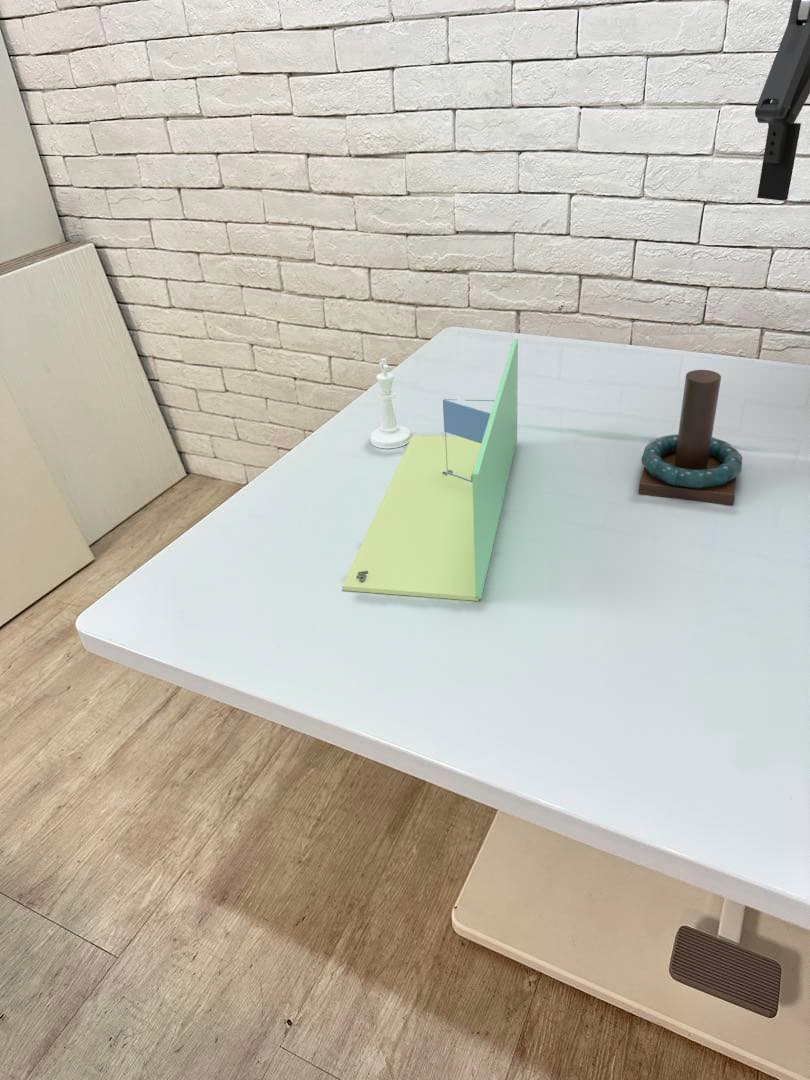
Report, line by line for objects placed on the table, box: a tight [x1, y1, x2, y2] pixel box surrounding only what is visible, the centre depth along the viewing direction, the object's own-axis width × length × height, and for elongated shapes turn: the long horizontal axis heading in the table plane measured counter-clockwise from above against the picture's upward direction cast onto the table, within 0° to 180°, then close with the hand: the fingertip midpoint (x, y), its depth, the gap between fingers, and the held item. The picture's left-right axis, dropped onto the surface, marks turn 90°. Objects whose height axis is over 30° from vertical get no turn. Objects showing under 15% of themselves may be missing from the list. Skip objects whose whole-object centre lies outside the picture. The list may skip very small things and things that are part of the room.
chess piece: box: [369, 357, 412, 450], centre depth 92 cm, size 5×5×10 cm
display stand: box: [341, 337, 519, 602], centre depth 78 cm, size 30×12×12 cm, turn 167°
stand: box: [637, 369, 738, 506], centre depth 79 cm, size 9×9×11 cm
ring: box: [641, 433, 743, 488], centre depth 81 cm, size 10×10×2 cm
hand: (809, 186), depth 80 cm, fingers open, 13 cm apart
